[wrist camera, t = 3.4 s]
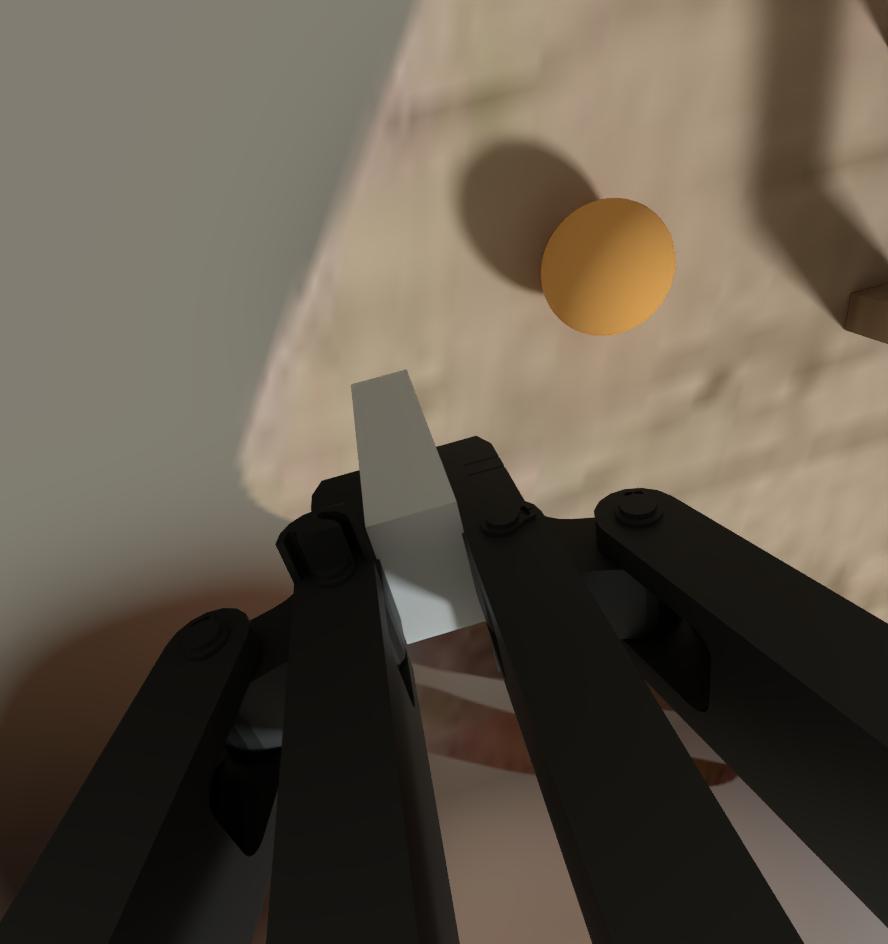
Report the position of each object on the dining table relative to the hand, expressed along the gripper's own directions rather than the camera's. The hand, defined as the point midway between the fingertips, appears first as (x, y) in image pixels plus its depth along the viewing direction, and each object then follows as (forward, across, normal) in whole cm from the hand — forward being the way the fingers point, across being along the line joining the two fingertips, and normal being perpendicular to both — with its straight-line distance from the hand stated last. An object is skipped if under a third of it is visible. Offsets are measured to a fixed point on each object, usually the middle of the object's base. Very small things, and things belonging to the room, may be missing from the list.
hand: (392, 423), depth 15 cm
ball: (+10, -10, 0) cm, 14 cm away
